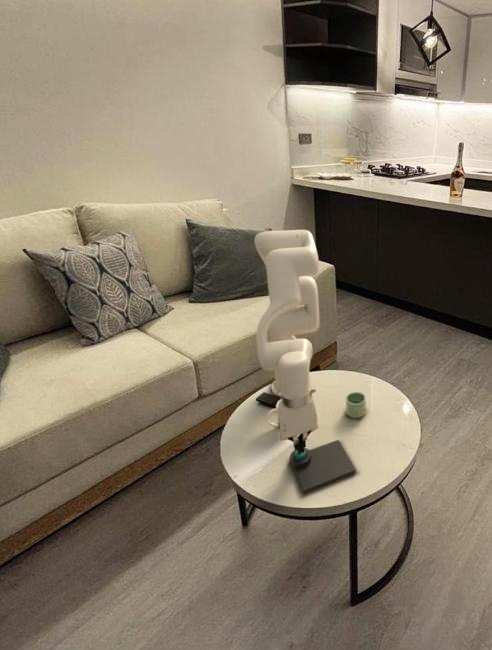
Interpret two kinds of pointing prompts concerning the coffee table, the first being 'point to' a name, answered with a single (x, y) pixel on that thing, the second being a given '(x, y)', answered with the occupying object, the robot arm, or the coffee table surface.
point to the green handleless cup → (355, 404)
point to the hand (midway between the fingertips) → (300, 450)
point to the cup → (272, 411)
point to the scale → (322, 466)
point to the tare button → (300, 456)
